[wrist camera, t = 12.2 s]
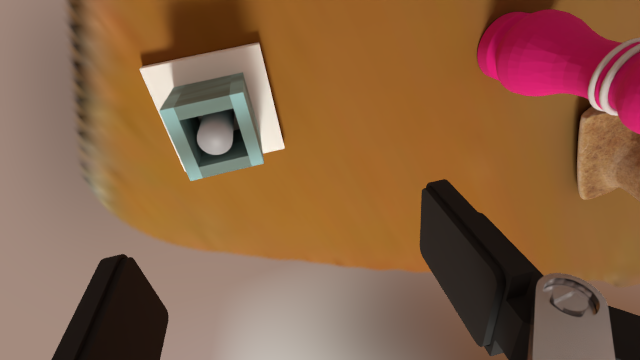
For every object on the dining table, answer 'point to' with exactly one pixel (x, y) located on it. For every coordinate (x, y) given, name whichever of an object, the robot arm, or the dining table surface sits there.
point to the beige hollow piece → (607, 155)
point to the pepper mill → (563, 61)
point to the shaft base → (215, 70)
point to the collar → (205, 100)
